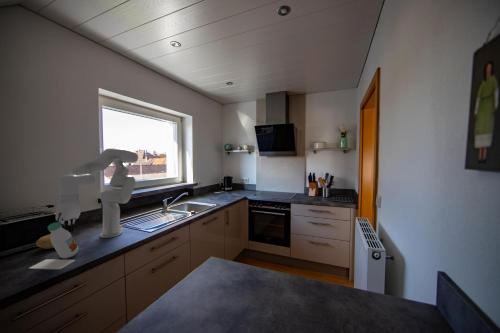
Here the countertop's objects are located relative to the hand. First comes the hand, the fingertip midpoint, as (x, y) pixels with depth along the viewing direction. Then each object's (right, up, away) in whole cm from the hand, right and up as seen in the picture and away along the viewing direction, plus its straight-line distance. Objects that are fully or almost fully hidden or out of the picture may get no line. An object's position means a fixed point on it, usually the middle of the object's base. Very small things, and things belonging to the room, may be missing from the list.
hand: (69, 231), depth 104 cm
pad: (-1, -14, -8) cm, 16 cm away
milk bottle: (0, -12, +1) cm, 12 cm away
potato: (-19, -13, +10) cm, 25 cm away
